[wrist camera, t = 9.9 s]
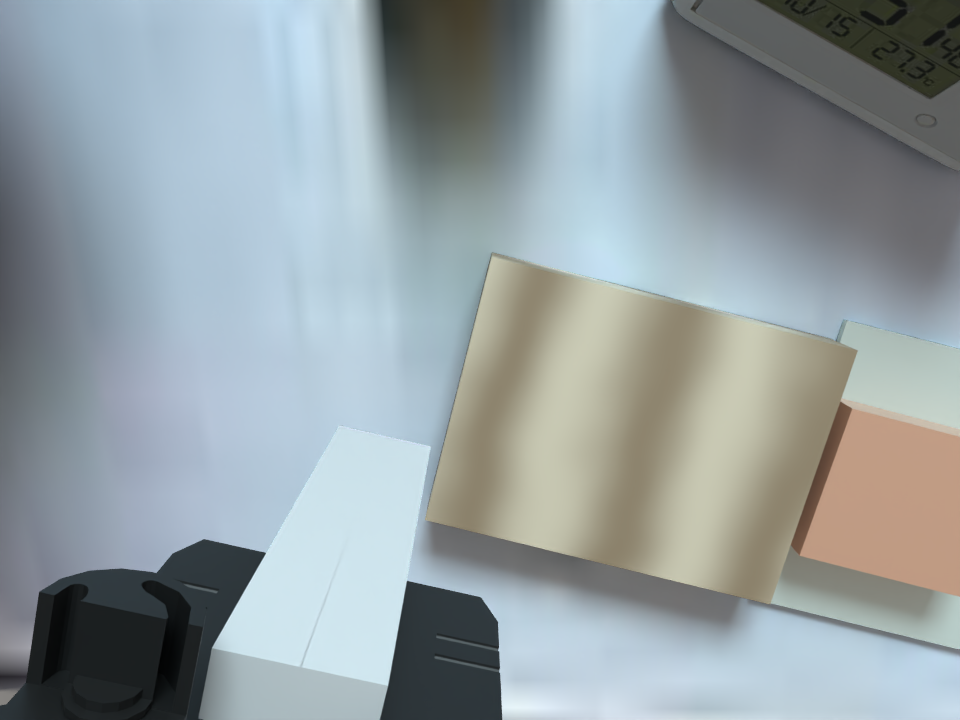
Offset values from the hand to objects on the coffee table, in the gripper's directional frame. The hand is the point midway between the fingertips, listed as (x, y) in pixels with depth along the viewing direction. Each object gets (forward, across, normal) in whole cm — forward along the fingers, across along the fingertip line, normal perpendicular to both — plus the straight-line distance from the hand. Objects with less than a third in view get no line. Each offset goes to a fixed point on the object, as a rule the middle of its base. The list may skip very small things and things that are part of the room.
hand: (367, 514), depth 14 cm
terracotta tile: (+25, +22, -4) cm, 33 cm away
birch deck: (+25, +10, -3) cm, 27 cm away
